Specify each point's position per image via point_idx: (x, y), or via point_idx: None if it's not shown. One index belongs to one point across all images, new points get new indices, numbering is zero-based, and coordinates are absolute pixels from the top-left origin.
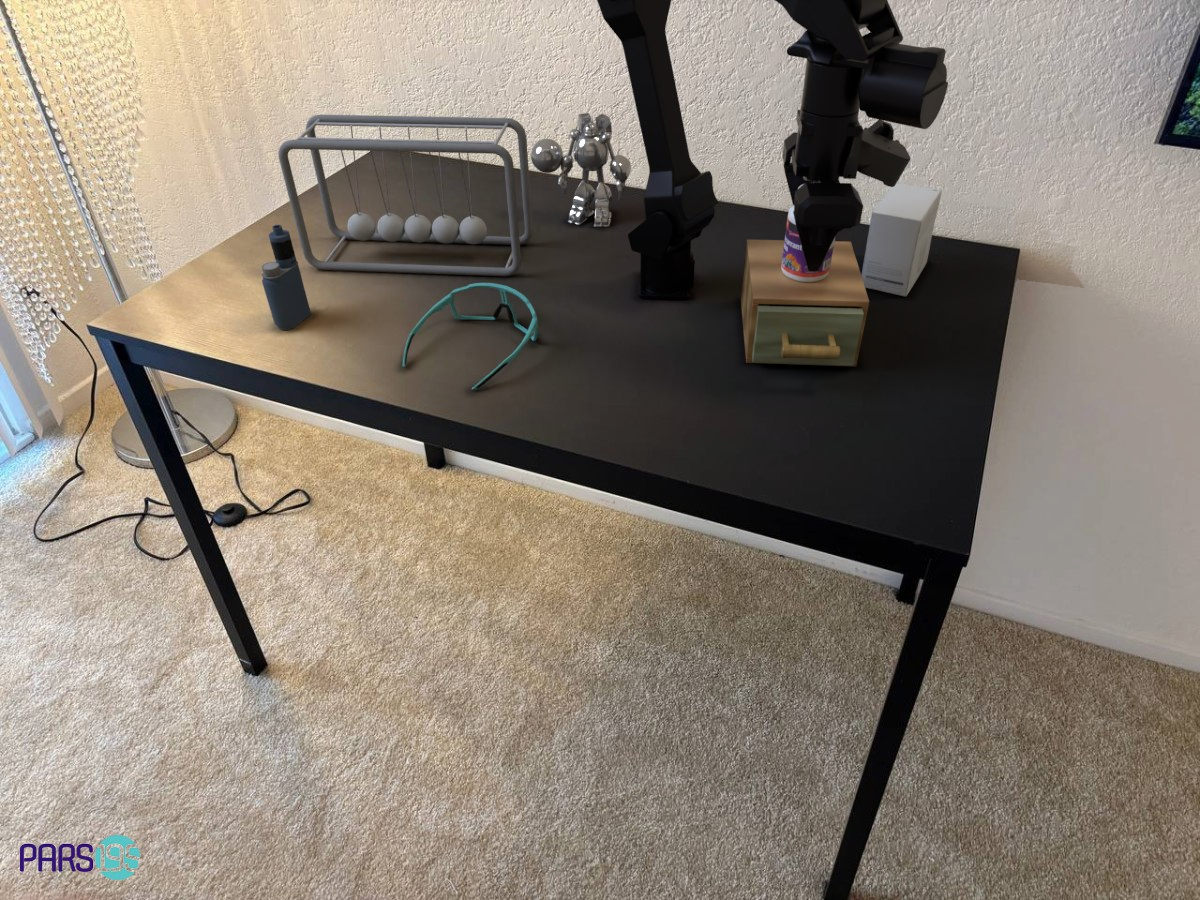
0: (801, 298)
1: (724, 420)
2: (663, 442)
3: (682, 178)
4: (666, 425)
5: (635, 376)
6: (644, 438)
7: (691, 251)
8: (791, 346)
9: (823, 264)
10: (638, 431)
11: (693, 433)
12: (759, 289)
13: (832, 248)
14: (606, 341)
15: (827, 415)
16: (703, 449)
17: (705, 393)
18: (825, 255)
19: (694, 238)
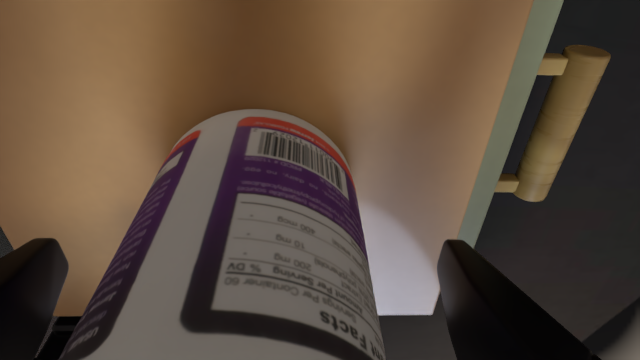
0: (459, 214)
1: (564, 224)
2: (585, 290)
3: None
4: (547, 288)
5: (415, 320)
6: (567, 307)
7: (62, 333)
8: (546, 184)
9: (345, 189)
10: (549, 313)
11: (580, 260)
12: (385, 303)
13: (304, 199)
14: None
15: (624, 44)
16: (624, 250)
17: (479, 246)
18: (539, 307)
19: (34, 358)
